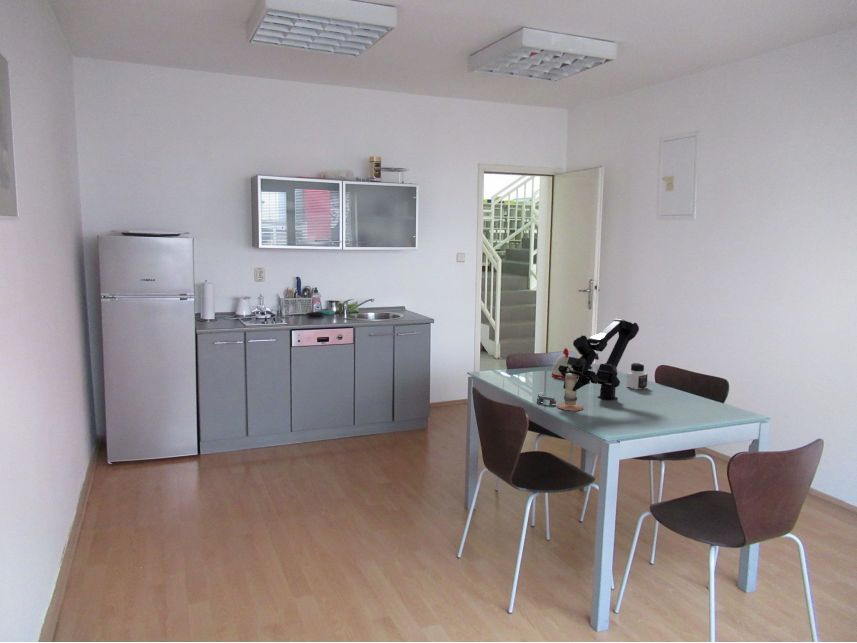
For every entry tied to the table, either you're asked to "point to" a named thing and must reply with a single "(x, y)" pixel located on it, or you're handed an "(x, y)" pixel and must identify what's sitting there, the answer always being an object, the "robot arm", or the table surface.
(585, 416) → the table surface
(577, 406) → the terracotta coaster
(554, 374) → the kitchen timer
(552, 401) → the grey angled bracket
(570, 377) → the birch ring post
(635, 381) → the medicine bottle
